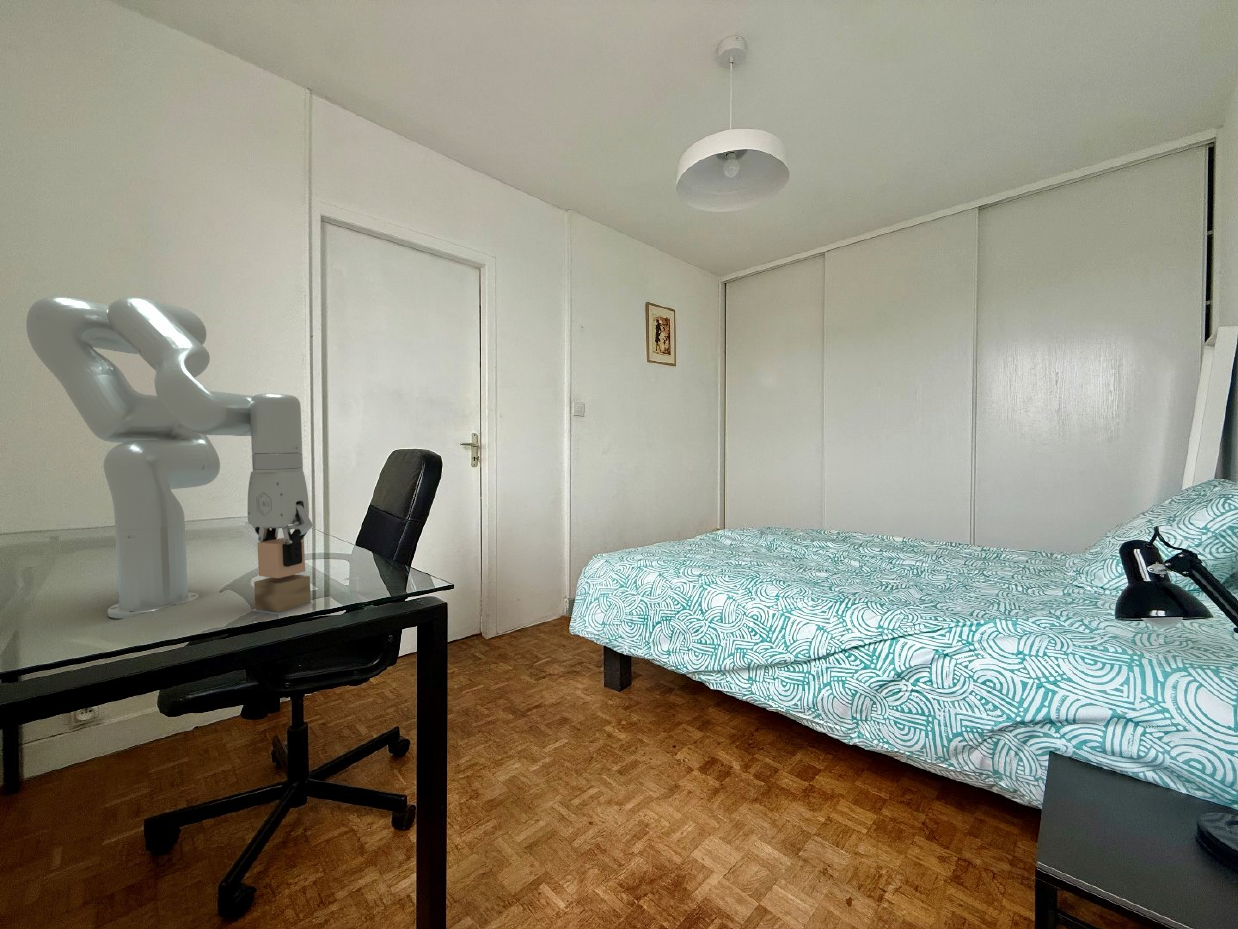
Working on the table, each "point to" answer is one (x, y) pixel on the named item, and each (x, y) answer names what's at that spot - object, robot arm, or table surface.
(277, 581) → the walnut block
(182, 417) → the robot arm
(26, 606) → the table surface
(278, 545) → the terracotta block
